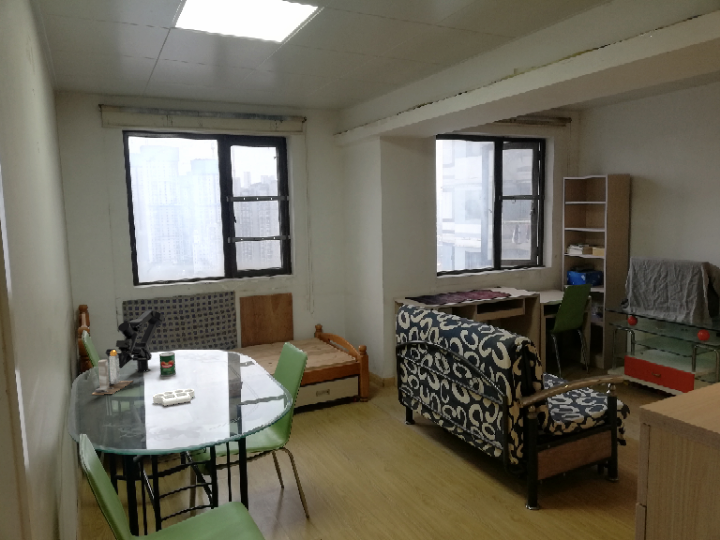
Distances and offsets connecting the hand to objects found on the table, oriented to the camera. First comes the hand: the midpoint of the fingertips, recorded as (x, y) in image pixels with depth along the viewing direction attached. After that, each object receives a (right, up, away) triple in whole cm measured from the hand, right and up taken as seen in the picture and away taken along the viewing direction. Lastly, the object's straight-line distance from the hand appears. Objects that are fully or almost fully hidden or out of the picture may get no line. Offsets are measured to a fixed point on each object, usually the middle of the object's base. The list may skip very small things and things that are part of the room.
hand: (120, 367), depth 267 cm
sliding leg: (-1, -7, -5) cm, 9 cm away
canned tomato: (+18, -7, +17) cm, 26 cm away
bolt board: (0, -9, -7) cm, 11 cm away
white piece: (+38, -10, -27) cm, 48 cm away
